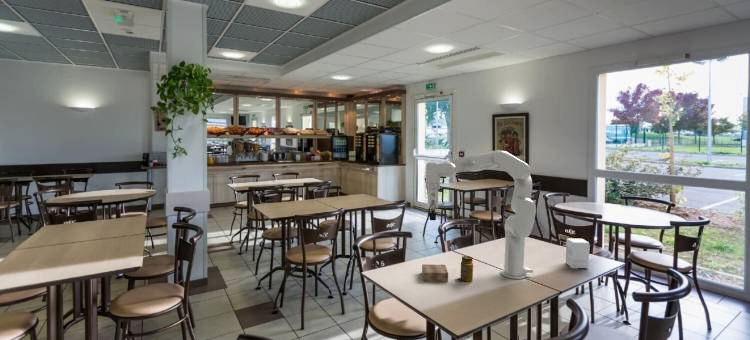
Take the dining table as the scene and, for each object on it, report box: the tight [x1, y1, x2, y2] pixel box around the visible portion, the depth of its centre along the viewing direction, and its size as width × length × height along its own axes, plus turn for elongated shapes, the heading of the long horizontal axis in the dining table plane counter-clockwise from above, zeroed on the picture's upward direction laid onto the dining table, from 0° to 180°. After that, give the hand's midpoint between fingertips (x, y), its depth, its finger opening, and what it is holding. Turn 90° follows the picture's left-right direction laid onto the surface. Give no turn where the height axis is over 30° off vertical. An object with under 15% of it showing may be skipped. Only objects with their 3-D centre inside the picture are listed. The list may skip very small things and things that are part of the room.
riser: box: [421, 263, 449, 283], centre depth 194 cm, size 12×12×5 cm
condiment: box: [453, 255, 477, 285], centre depth 189 cm, size 7×8×12 cm
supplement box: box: [565, 238, 590, 269], centre depth 212 cm, size 9×9×15 cm
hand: (431, 218), depth 197 cm, fingers open, 9 cm apart
